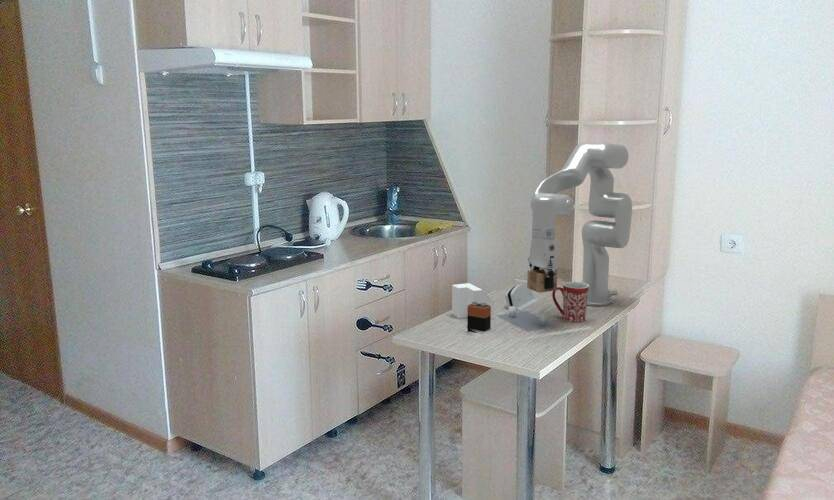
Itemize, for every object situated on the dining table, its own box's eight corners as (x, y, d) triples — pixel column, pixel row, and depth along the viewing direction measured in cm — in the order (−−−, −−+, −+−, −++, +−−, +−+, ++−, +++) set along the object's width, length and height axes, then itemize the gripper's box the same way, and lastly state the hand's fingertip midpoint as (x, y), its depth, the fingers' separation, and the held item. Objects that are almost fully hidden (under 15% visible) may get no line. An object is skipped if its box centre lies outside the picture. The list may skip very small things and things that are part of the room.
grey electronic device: (521, 315, 244) (513, 288, 244) (509, 317, 247) (501, 291, 247) (540, 304, 258) (532, 279, 258) (529, 306, 261) (521, 282, 261)
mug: (591, 321, 236) (592, 283, 234) (582, 327, 229) (584, 289, 226) (557, 315, 243) (558, 279, 241) (547, 322, 236) (548, 284, 233)
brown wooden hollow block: (544, 285, 232) (545, 268, 230) (556, 290, 225) (557, 272, 224) (527, 287, 229) (527, 270, 228) (539, 292, 222) (539, 274, 221)
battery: (484, 335, 223) (485, 305, 221) (466, 331, 226) (466, 302, 224) (491, 331, 226) (491, 302, 224) (473, 328, 230) (473, 299, 228)
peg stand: (526, 314, 246) (526, 298, 244) (559, 329, 228) (560, 312, 227) (495, 318, 240) (495, 303, 239) (527, 334, 222) (527, 317, 221)
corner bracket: (452, 317, 243) (452, 284, 240) (480, 313, 247) (480, 281, 244) (464, 325, 233) (464, 291, 231) (494, 321, 237) (494, 288, 235)
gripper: (568, 236, 217) (567, 290, 221) (537, 229, 233) (536, 279, 236) (549, 238, 214) (547, 293, 218) (519, 230, 230) (518, 281, 233)
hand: (542, 285), depth 227 cm, fingers closed on brown wooden hollow block, 7 cm apart
